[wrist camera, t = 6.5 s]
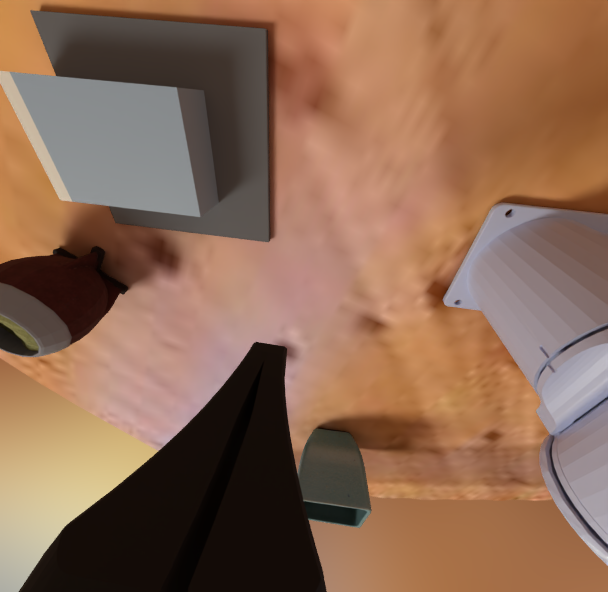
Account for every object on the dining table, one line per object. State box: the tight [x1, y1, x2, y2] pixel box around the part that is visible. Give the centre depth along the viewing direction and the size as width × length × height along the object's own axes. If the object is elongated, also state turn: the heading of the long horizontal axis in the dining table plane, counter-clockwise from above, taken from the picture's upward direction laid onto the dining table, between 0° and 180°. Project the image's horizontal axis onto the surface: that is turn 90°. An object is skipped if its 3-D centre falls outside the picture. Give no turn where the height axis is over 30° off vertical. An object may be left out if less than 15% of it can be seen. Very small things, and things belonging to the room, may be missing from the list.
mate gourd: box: [0, 246, 128, 357], centre depth 17 cm, size 8×8×15 cm
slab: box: [0, 71, 219, 217], centre depth 15 cm, size 3×6×9 cm
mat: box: [30, 10, 270, 242], centre depth 16 cm, size 12×11×1 cm
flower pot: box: [298, 429, 371, 528], centre depth 34 cm, size 9×9×9 cm
